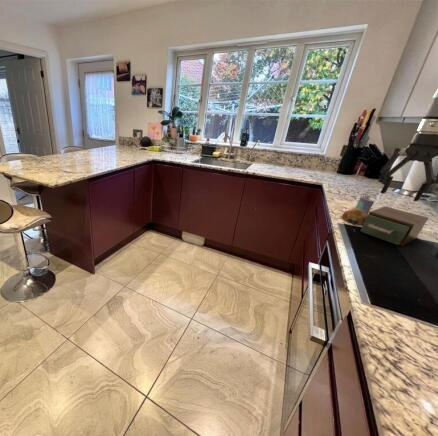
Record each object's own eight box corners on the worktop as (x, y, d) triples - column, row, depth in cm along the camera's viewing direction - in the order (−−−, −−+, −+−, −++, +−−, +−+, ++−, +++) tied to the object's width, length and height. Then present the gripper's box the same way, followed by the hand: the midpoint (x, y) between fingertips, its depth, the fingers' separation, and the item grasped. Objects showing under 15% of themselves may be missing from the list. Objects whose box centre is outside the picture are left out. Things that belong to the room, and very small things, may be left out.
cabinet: (401, 246, 92) (414, 224, 88) (359, 231, 103) (369, 211, 99) (416, 238, 99) (428, 217, 95) (375, 225, 110) (385, 206, 106)
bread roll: (365, 231, 111) (377, 217, 109) (355, 225, 107) (368, 210, 105) (344, 222, 120) (355, 209, 118) (334, 216, 116) (345, 202, 113)
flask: (367, 218, 117) (377, 198, 113) (360, 217, 118) (369, 197, 114) (357, 211, 126) (366, 192, 121) (351, 210, 126) (359, 192, 122)
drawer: (393, 248, 89) (403, 229, 85) (354, 233, 99) (362, 216, 95) (412, 237, 97) (422, 220, 94) (375, 225, 107) (382, 209, 104)
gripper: (386, 130, 85) (360, 189, 95) (480, 136, 68) (436, 207, 77) (394, 130, 88) (368, 187, 98) (486, 136, 71) (443, 204, 81)
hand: (398, 196), depth 88 cm, fingers open, 9 cm apart
